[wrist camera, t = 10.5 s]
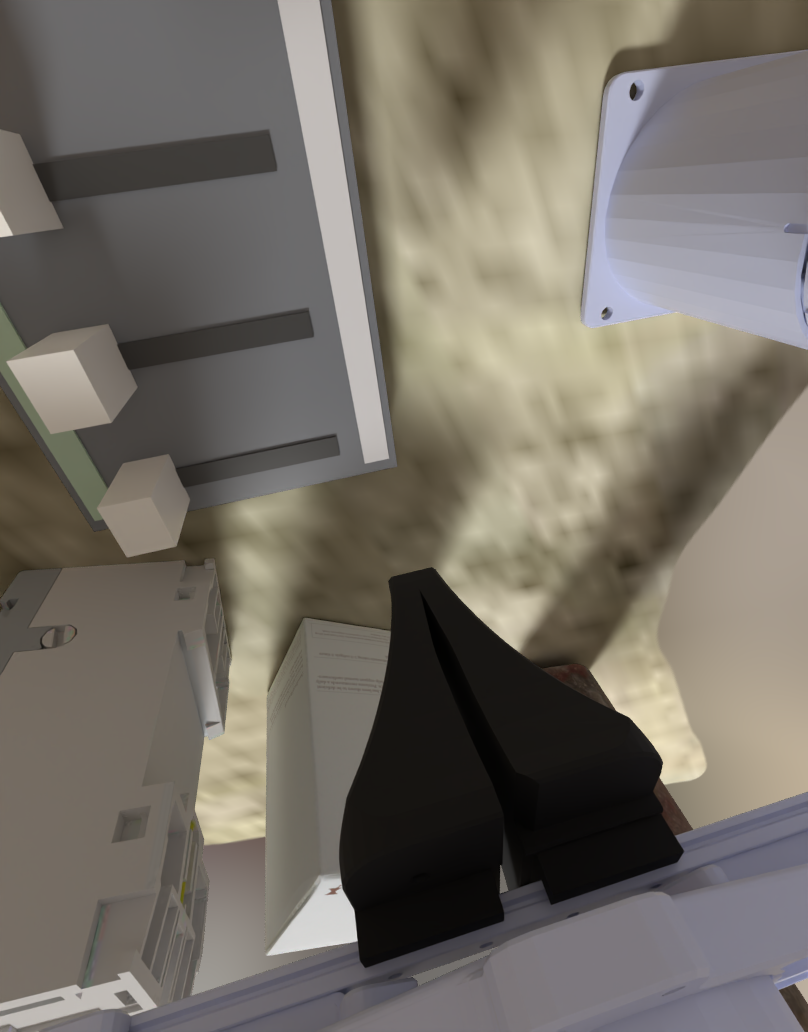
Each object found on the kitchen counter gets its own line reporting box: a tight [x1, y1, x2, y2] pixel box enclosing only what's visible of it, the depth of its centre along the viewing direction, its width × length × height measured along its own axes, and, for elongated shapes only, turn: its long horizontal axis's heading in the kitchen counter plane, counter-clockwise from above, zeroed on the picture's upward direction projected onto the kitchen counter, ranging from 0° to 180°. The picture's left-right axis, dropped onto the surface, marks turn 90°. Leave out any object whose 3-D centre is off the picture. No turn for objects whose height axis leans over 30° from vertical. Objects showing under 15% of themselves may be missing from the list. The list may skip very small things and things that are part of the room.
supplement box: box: [265, 618, 391, 955], centre depth 24 cm, size 7×7×13 cm
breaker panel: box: [0, 0, 397, 557], centre depth 13 cm, size 12×17×6 cm
